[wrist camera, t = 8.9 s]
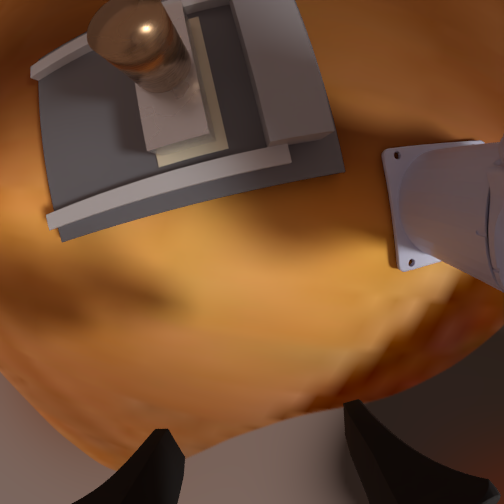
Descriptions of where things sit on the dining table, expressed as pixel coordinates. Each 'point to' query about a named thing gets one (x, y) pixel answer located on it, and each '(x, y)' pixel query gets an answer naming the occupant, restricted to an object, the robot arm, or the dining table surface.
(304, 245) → the dining table surface
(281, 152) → the base
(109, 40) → the press handle
